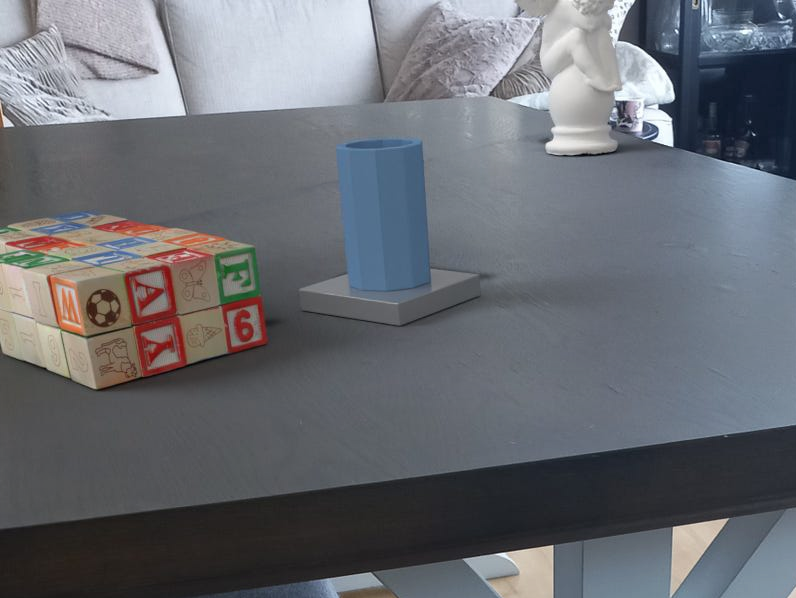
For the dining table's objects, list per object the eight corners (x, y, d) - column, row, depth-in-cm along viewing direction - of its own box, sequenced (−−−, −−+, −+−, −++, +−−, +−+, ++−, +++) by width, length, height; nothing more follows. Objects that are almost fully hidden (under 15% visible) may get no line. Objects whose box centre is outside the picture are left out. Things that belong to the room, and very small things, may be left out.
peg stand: (300, 310, 84) (285, 180, 80) (383, 282, 90) (374, 160, 86) (399, 326, 79) (389, 189, 75) (480, 295, 86) (475, 167, 81)
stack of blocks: (104, 295, 91) (-57, 331, 83) (87, 208, 88) (-82, 238, 80) (269, 344, 77) (93, 392, 70) (256, 243, 74) (71, 282, 67)
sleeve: (332, 286, 84) (317, 147, 79) (386, 268, 88) (375, 136, 83) (394, 294, 81) (382, 151, 76) (447, 276, 85) (439, 139, 80)
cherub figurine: (631, 154, 142) (634, -61, 131) (529, 163, 139) (524, -56, 129) (597, 142, 152) (597, -59, 141) (502, 150, 150) (495, -53, 139)
